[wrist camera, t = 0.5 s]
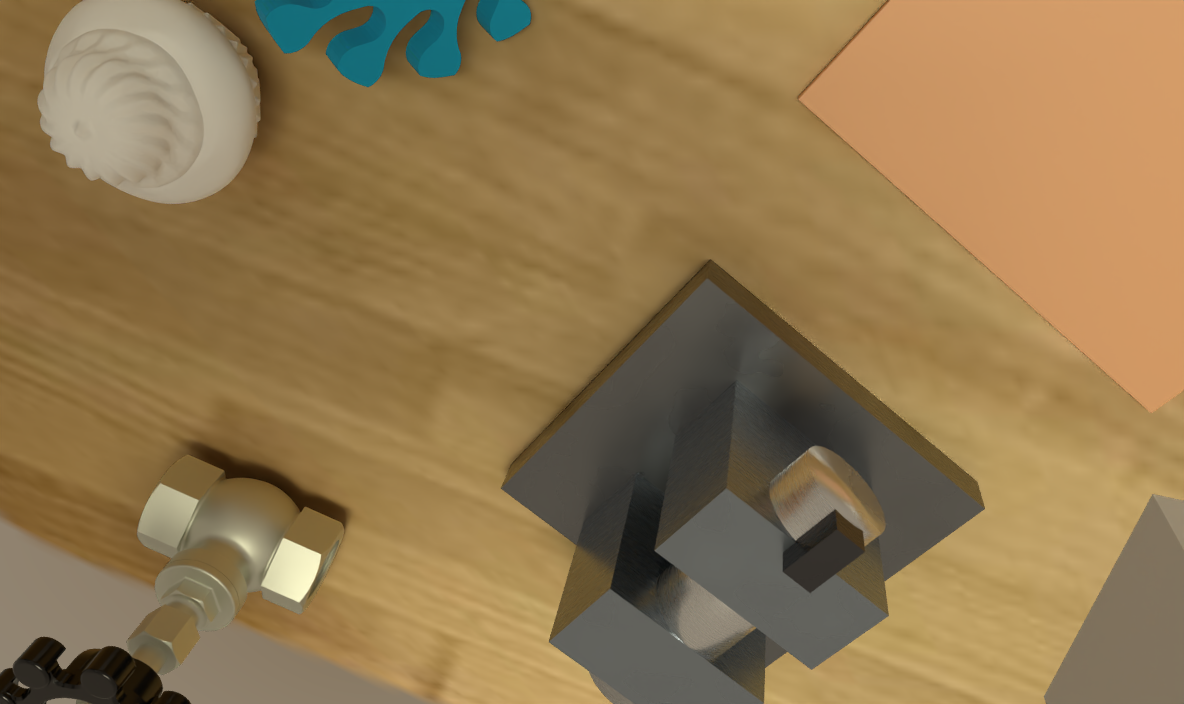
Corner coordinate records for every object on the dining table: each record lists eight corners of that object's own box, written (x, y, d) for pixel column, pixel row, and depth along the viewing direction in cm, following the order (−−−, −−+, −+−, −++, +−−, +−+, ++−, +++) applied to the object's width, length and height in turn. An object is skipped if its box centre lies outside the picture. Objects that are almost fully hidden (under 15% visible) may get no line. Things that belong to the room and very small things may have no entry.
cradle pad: (798, 96, 29) (798, 99, 29) (1087, -215, 25) (1090, -215, 24) (1148, 408, 32) (1151, 413, 32) (1469, 179, 27) (1475, 182, 27)
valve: (324, 591, 42) (168, 849, 31) (176, 526, 41) (-31, 765, 31) (367, 475, 38) (210, 720, 28) (207, 404, 38) (-12, 624, 28)
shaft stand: (510, 464, 37) (443, 621, 30) (710, 259, 32) (688, 387, 25) (754, 647, 39) (746, 836, 32) (977, 482, 34) (1028, 660, 27)
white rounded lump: (170, 183, 34) (35, 262, 28) (88, -2, 31) (-80, 40, 25) (332, 147, 32) (227, 222, 26) (260, -52, 30) (124, -19, 24)
